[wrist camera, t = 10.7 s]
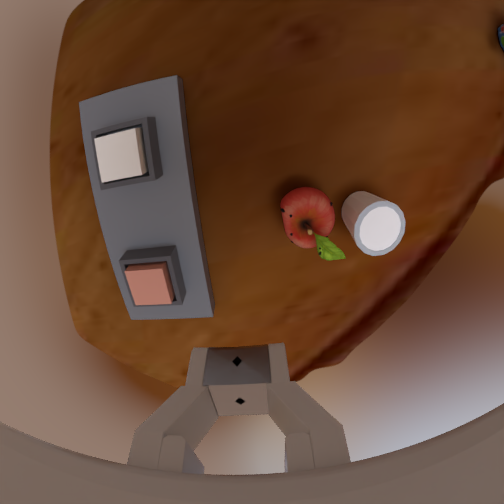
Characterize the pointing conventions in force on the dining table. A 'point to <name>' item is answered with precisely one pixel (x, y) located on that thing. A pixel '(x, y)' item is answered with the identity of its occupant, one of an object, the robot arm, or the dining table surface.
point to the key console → (151, 196)
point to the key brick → (150, 283)
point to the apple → (310, 221)
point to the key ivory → (121, 155)
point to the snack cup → (501, 35)
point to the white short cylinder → (373, 222)
